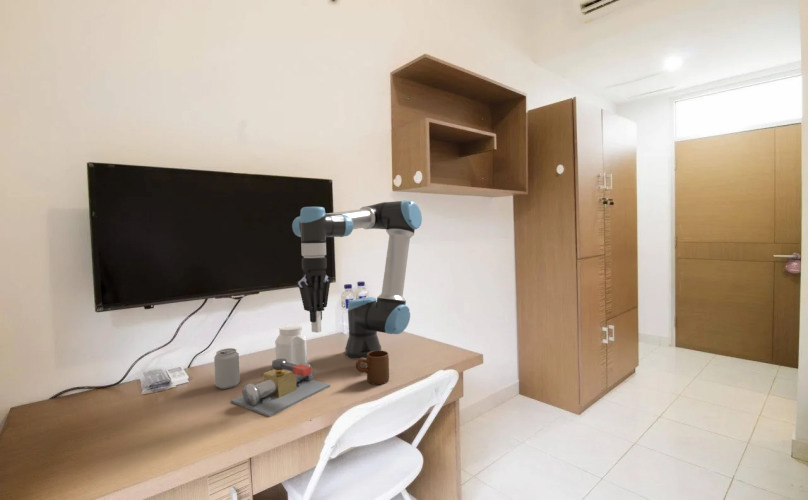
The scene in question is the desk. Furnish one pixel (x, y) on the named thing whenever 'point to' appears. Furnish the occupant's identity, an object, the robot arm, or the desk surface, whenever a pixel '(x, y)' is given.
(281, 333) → the jar
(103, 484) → the desk surface
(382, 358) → the mug
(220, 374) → the can
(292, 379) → the valve
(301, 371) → the lever
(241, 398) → the mat
